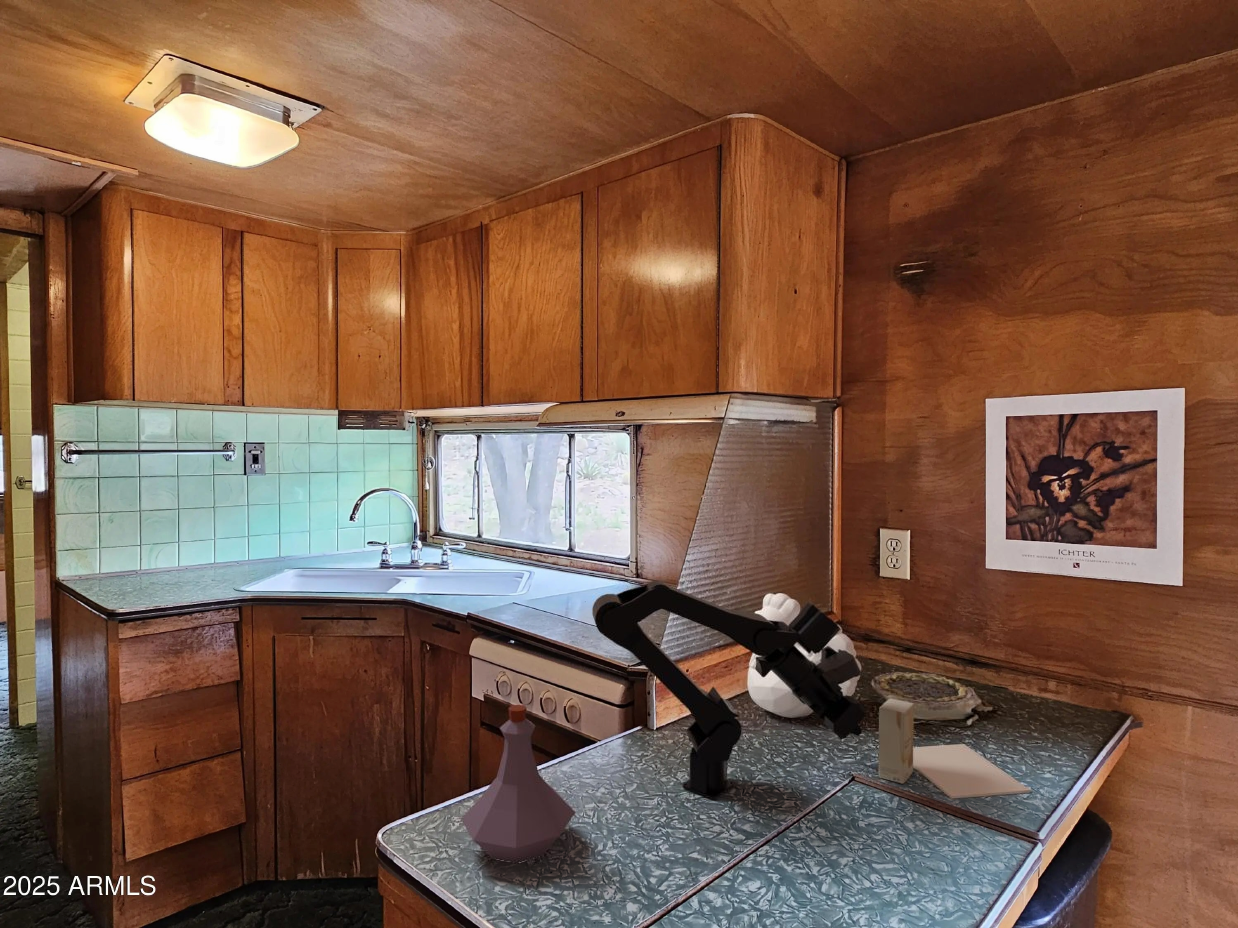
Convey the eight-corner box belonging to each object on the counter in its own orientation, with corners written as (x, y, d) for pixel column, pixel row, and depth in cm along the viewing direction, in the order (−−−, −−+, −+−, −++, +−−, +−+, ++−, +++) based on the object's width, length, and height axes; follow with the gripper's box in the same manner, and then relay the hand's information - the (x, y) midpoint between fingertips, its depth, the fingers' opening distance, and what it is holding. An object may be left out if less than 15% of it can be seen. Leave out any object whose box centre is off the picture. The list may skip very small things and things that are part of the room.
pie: (857, 721, 149) (857, 697, 149) (853, 680, 175) (853, 659, 175) (1007, 736, 141) (1007, 711, 141) (979, 691, 167) (980, 669, 167)
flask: (521, 803, 115) (520, 680, 114) (599, 839, 105) (598, 704, 104) (436, 849, 102) (434, 711, 102) (515, 895, 92) (513, 741, 91)
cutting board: (951, 798, 116) (951, 795, 116) (894, 750, 134) (894, 748, 134) (1030, 792, 118) (1030, 789, 118) (963, 745, 136) (963, 743, 136)
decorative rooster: (731, 704, 157) (731, 592, 156) (785, 691, 165) (785, 584, 165) (817, 746, 136) (817, 616, 135) (873, 728, 144) (874, 605, 143)
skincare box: (903, 785, 120) (904, 713, 120) (877, 777, 123) (877, 707, 123) (914, 771, 126) (914, 702, 125) (888, 764, 128) (889, 696, 128)
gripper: (855, 653, 113) (920, 718, 115) (808, 623, 131) (865, 680, 133) (807, 706, 112) (874, 771, 114) (767, 668, 130) (824, 724, 132)
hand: (859, 732), depth 123 cm, fingers closed
